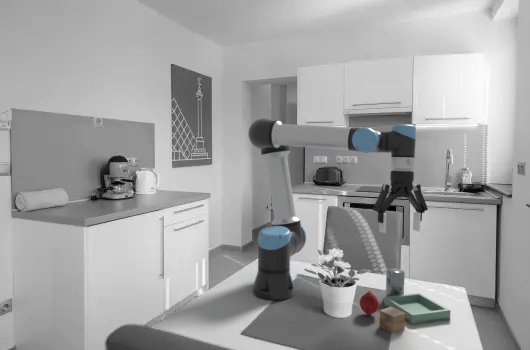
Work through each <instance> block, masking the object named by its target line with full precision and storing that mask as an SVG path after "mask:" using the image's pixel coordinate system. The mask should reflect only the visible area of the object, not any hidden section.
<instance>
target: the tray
mask: <svg viewBox="0 0 530 350" xmlns="http://www.w3.org/2000/svg"><path fill="white" fill-rule="evenodd" d="M383 298H384V299H383V301H384V302H383V306H384V307H385V308H388V307H393V308H395V309H397V310H400V311H402V312H404V313H405V322H407V323H409V324H410V325H411V326H413V325H414V326H415V325H421V324H428V323H429V324H430V323H435V322H437V323H438V322H443V321H449V320H451V309H449V308H447V307H446V306H444V305H442V304H440V303H438V302H436V301H434V300H432V299H431V298H429V297H427V296H425V295H423V294H422V293H420V292H418V293H417V292H416V293H407V294H404V295H397V296H388V297H386V296H384V297H383Z"/></svg>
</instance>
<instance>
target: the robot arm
mask: <svg viewBox="0 0 530 350" xmlns="http://www.w3.org/2000/svg"><path fill="white" fill-rule="evenodd" d="M248 139H249V141H250V143H251V144H252V145H253V146H254V147H255V148H257V149H260V153H261V155H260V156H261V157H262V158H264V159H265V162H266V168H267V177H268V181H269V189H270V190H269V191H270V196H271V203H272V210H273V217H274V218H273V220H272V222H271V223H270V224H271V226H267V227H264V228H262V229H261V230H260V231H259V233H258V239H257V245H258V246H257V248H258V249H257V273H256V276H255V279H254V281H253V285H252V293H253V295H254V296H256V297H257V298H259V299H263V300H267V301H268V300H269V301H280V300H287V299H290V298H292V297H293V296H294V295H295V284H294V282H293V279H292V275H291V272H290V271H291V257H292V256H294V255H296V254H297V253H299V252H300V251H301V250H302V249H303V248H304V247H305V245H306V242H307V233H306V230H305V229H304V227H303V226H302V224H301V219H300V218H299V217H298V216H297V215H296V208H295V203H294V196H293V187H292V182H291V175H290V168H289V163H288V161H289V160H288V156H289V154H290V153H291V149H290V147H299V148H312V149H313V148H314V149H326V150H339V151H340V150H341V151H351V152H358V153H366V154H367V153H387V154H388V153H390V154H391V155H390V169H391V170H390V175H389V176H390V177H389V179H390V184H385V183H382V185H381V190H380V193H379V194H378V197H377V199H376V201H375V203H374V205H373V207H372V210H373V212H376V213H377V223H379V227H378V229H379V230H378V231H379V233H382V234H387V232H386V231H387V213H386V211H387V209H388V208H390V206H391V205H392V204H393V202H394V201H395V200H396V199H398V198H406V199H407V200H408V202H409V203H410V204H411V207H413V209H414V210H415V211H413V215H412V216H413V221H412V230H413V231H415V232H421V222H422V220H423V214H425V211H428V210H429V207H428V206H427V203H426V201H425V198H424V194H423V192H422V186H421V184H418V183H414V179H415V173H414V171H413V170H414V169H415V159H416V142H417V141H416V139H417V137H416V127H415V126H414V125H413V124H394V125H393V126H392V128H391V130H386V131H385V130H382V131H381V130H375V129H373V128H371V127H366V126H365V127H348V126H346V127H345V126H325V125H307V124H306V125H305V124H289V123H287V124H286V123H283V122H282V121H280V120H275V119H274V120H273V119H269V118H259V119H256V120H254V122H252V124H251V125H250V126H249V128H248ZM389 191H390V192H389ZM412 191H413V192H412Z"/></svg>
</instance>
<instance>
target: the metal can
mask: <svg viewBox="0 0 530 350" xmlns="http://www.w3.org/2000/svg"><path fill="white" fill-rule="evenodd" d="M405 272H406V271H405V270H402V269H398V268H387V269H386V275H385V276H386V278H385V297H388V296H397V295H405V278H406V276H405Z"/></svg>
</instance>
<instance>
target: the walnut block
mask: <svg viewBox="0 0 530 350" xmlns="http://www.w3.org/2000/svg"><path fill="white" fill-rule="evenodd" d="M405 325H406V320H405V313H404V312H402V311H400V310H397V309H395V308H393V307H388V308H387V307H385V308H382V309H379V323H378V326H379V328H382V329H383V330H385V331H388V332H389V333H391V334H396V333H398V332H402V331H404V330H405V329H406V327H405Z"/></svg>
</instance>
